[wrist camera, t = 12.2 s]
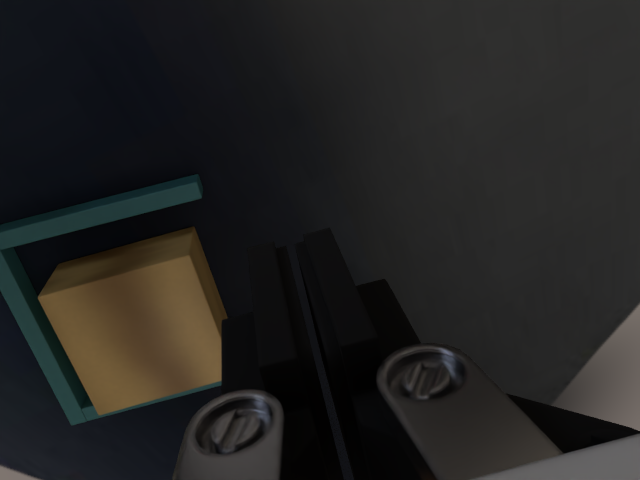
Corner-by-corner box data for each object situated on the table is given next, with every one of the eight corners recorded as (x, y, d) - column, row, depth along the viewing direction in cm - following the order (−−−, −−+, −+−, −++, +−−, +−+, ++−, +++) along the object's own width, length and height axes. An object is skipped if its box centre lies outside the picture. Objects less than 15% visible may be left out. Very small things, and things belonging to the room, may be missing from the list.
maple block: (111, 373, 37) (98, 416, 33) (57, 263, 33) (36, 297, 30) (235, 338, 37) (235, 377, 33) (194, 225, 33) (189, 254, 30)
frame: (77, 409, 37) (71, 425, 36) (-17, 228, 32) (-28, 239, 30) (259, 360, 38) (260, 374, 36) (198, 173, 32) (196, 181, 31)
